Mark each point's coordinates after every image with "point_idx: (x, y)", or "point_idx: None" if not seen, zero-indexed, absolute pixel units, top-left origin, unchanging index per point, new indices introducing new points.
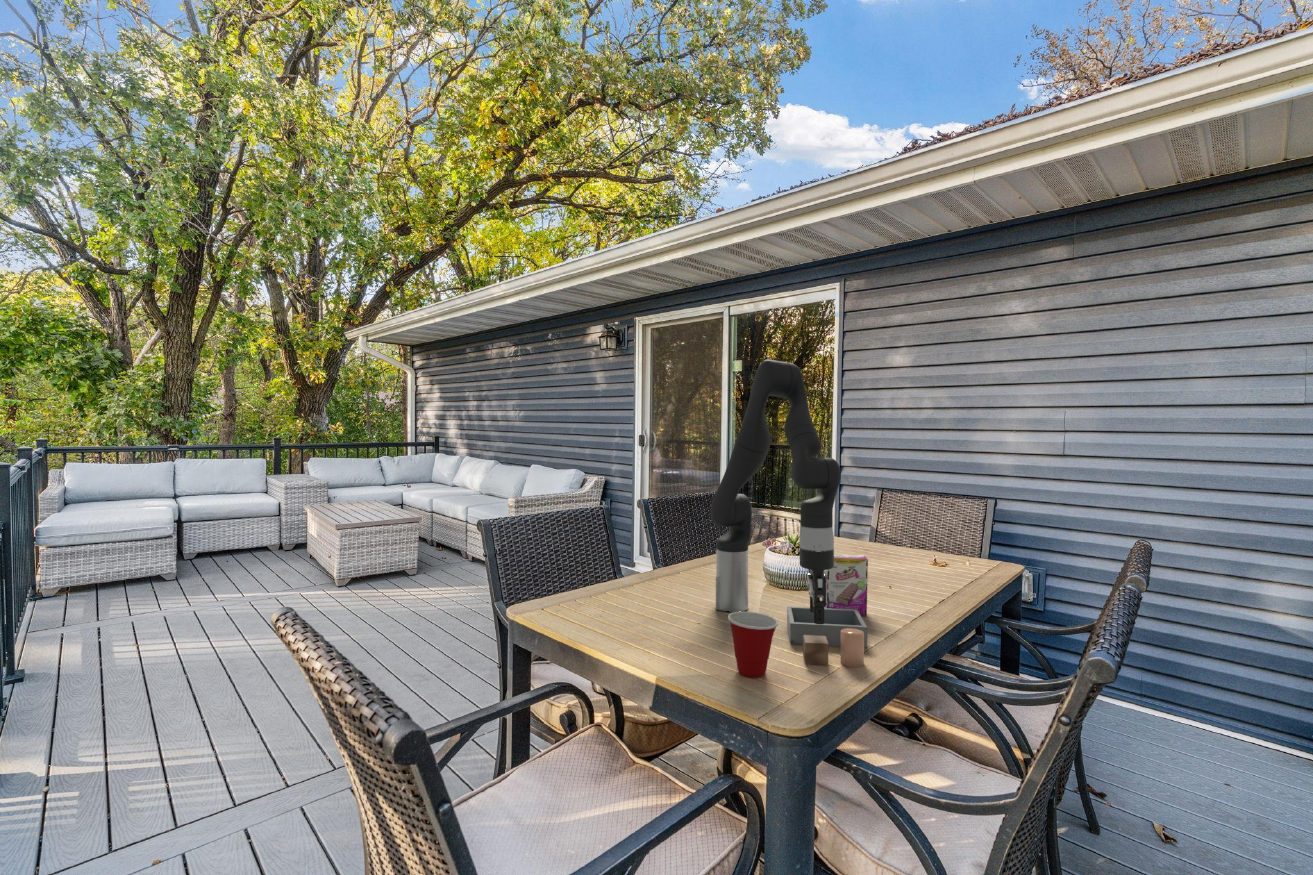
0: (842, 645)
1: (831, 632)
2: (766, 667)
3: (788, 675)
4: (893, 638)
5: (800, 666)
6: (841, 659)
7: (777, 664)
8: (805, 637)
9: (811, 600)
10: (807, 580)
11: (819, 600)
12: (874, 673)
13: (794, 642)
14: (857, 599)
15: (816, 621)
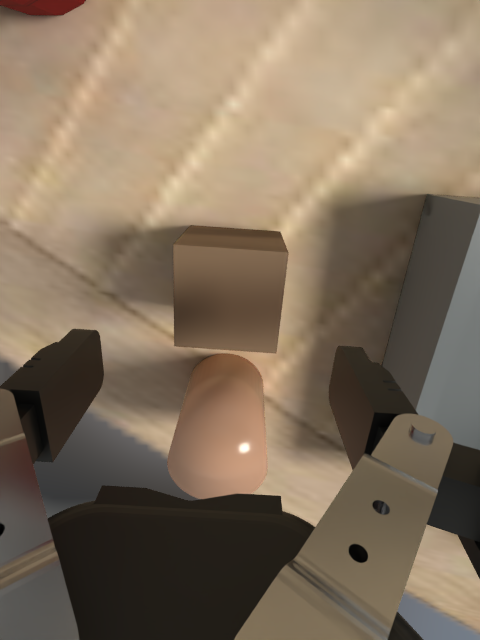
0: (203, 394)
1: (404, 383)
2: (17, 10)
3: (60, 136)
4: (436, 531)
5: (165, 203)
6: (216, 361)
7: (170, 97)
8: (248, 257)
9: (361, 399)
10: (274, 582)
11: (349, 454)
12: (151, 425)
13: (425, 215)
14: None
15: (52, 346)
